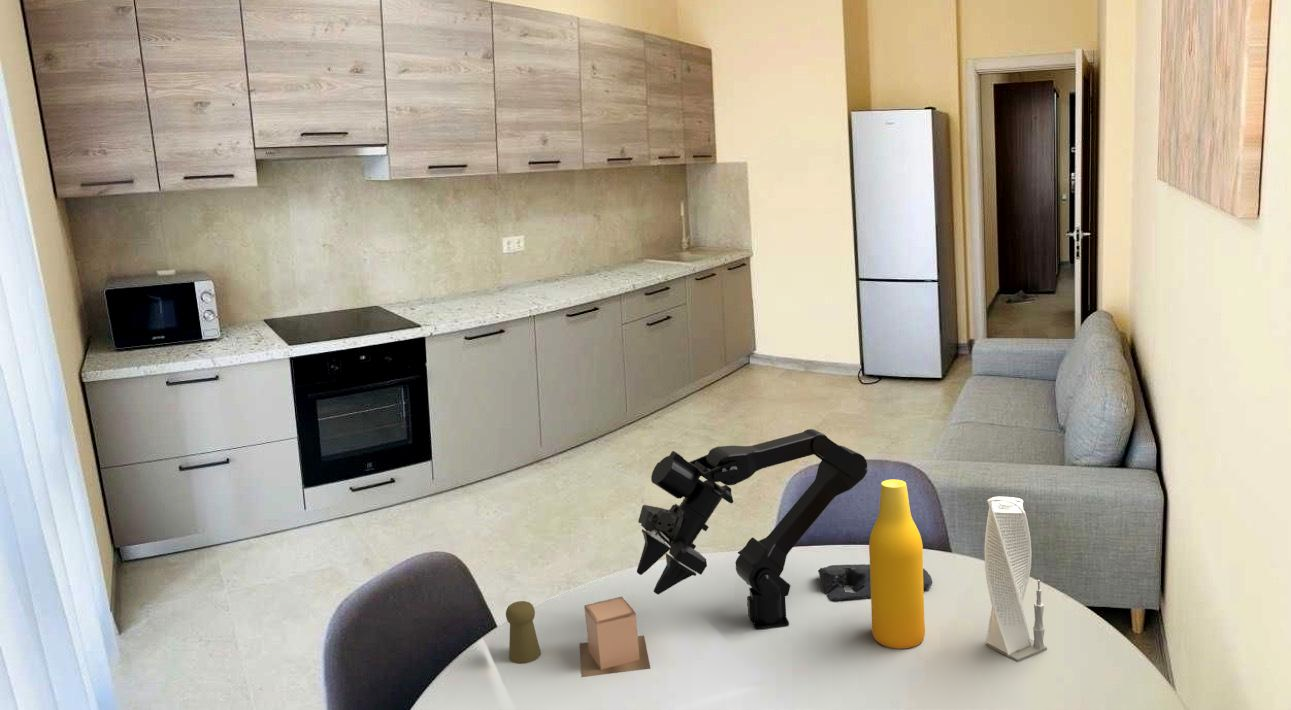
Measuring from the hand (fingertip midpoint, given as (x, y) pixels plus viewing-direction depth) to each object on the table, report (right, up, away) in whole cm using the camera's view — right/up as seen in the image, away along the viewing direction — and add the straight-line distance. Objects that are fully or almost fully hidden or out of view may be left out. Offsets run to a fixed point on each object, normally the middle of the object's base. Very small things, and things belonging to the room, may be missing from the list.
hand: (647, 583), depth 172 cm
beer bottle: (+45, -10, 0) cm, 46 cm away
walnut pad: (-6, -14, 0) cm, 15 cm away
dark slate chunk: (+46, -6, +22) cm, 51 cm away
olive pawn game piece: (-22, -15, +2) cm, 27 cm away
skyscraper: (+63, -10, -7) cm, 64 cm away
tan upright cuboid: (-6, -13, 0) cm, 14 cm away
